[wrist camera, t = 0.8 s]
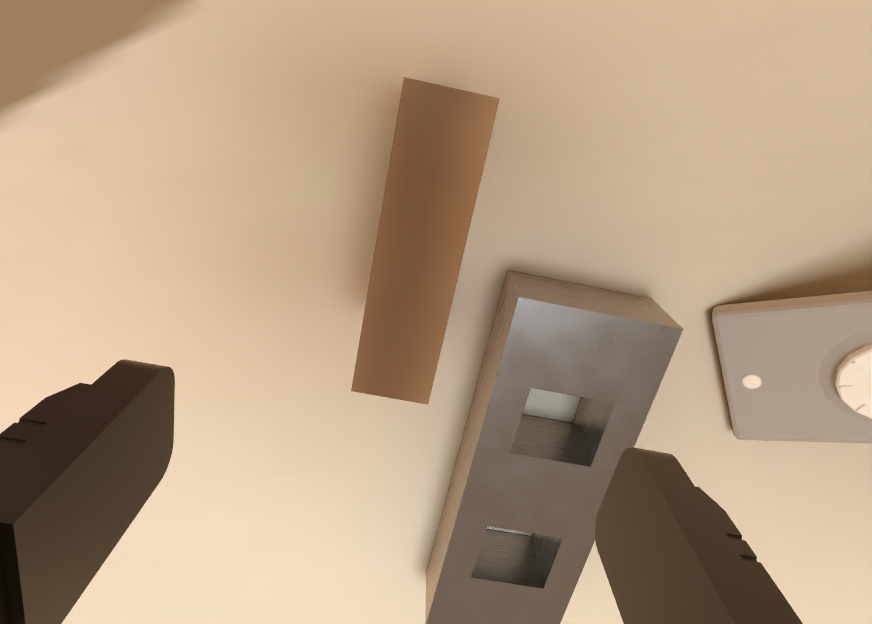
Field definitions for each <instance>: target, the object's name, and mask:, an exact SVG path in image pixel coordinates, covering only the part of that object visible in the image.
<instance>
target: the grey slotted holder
mask: <svg viewBox="0 0 872 624" xmlns="http://www.w3.org/2000/svg"><path fill="white" fill-rule="evenodd" d="M682 331H683V328H682V327H680V326H679V325H678V324H677V323H676V322H675V321H674V320H673V319H672V318H671V317H670V316H669V315H668V314H667V313H666V312H665V311H664V310H663V309H662V308H661V307H660V306H659V305H658V304H657V303H656V302H655V301H653V300H652V299H651V298H646V297H641V296H636V295H631V294H626V293H621V292H616V291H611V290H606V289H601V288H595V287H590V286H585V285H580V284H575V283H570V282H565V281H560V280H555V279H550V278H545V277H540V276H535V275H530V274H525V273H520V272H515V271H510V270H508V272H507V275H506V279H505V283H504V287H503V290H502V294H501V298H500V301H499V305H498V309H497V312H496V316H495V320H494V324H493V327H492V331H491V335H490V338H489V342H488V346H487V350H486V353H485V357H484V361H483V364H482V368H481V372H480V375H479V379H478V383H477V387H476V390H475V394H474V398H473V401H472V405H471V409H470V413H469V416H468V420H467V424H466V427H465V431H464V435H463V438H462V442H461V446H460V450H459V453H458V457H457V461H456V464H455V468H454V472H453V476H452V479H451V483H450V487H449V490H448V494H447V498H446V501H445V505H444V509H443V513H442V516H441V520H440V524H439V527H438V531H437V535H436V539H435V542H434V546H433V550H432V553H431V557H430V561H429V564H428V568H427V572H426V623H425V624H560V622H561V620H562V618H563V615H564V613H565V610H566V608H567V606H568V603H569V601H570V598H571V596H572V594H573V591H574V589H575V587H576V584H577V582H578V579H579V577H580V575H581V572H582V570H583V567H584V565H585V563H586V560H587V558H588V555H589V553H590V551H591V548H592V546H593V543H594V541H595V523H596V517H597V513H598V511H599V508H600V506H601V503H602V501H603V498H604V496H605V493H606V491H607V488H608V486H609V483H610V481H611V479H612V476H613V474H614V471H615V469H616V466H617V464H618V461H619V459H620V457H621V455H622V453H623V452H624V451H625V450H626V449H627V448H630V447H632V448H634V445H635V443H636V441H637V438H638V436H639V433H640V431H641V429H642V426H643V424H644V422H645V419H646V417H647V414H648V412H649V410H650V407H651V405H652V402H653V400H654V398H655V395H656V393H657V390H658V388H659V386H660V383H661V381H662V378H663V376H664V374H665V371H666V369H667V367H668V364H669V362H670V359H671V357H672V355H673V352H674V350H675V347H676V345H677V343H678V340H679V338H680V335H681V333H682ZM530 388H536V389H541V390H547V391H552V392H558V393H563V394H569V395H574V396H580V397H582V399H581V402H580V405H579V407H578V410H577V413H576V416H575V419H574V421H573V423H568V422H562V421H556V420H551V419H545V418H539V417H534V416H528V415H522V413H523V410H524V406H525V403H526V400H527V397H528V394H529V391H530ZM487 526H492V527H498V528H504V529H511V530H517V531H523V532H529V533H533V536H532V537H531V536H525V535H519V534H512V533H506V532H500V531H494V530H487V529H486V528H487Z"/></svg>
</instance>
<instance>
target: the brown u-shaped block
mask: <svg viewBox="0 0 872 624" xmlns="http://www.w3.org/2000/svg"><path fill="white" fill-rule="evenodd" d="M498 103H499V99H498V98H494V97H489V96H485V95H481V94H476V93H472V92H467V91H463V90H458V89H454V88H449V87H445V86H440V85H436V84H431V83H427V82H423V81H418V80H414V79H409V78H405V77H404V81H403V87H402V93H401V99H400V105H399V111H398V117H397V123H396V129H395V134H394V140H393V146H392V152H391V158H390V164H389V170H388V176H387V182H386V188H385V194H384V200H383V206H382V212H381V217H380V223H379V229H378V235H377V241H376V247H375V253H374V259H373V265H372V271H371V277H370V283H369V289H368V295H367V301H366V306H365V312H364V318H363V324H362V330H361V336H360V342H359V348H358V354H357V360H356V366H355V372H354V378H353V384H352V389H351V391H354V392H360V393H366V394H371V395H377V396H383V397H388V398H394V399H400V400H405V401H411V402H417V403H422V404H428V402H429V398H430V394H431V390H432V385H433V381H434V377H435V372H436V368H437V364H438V360H439V355H440V351H441V347H442V342H443V338H444V334H445V330H446V325H447V321H448V317H449V313H450V308H451V304H452V300H453V295H454V291H455V287H456V283H457V278H458V274H459V270H460V265H461V261H462V257H463V253H464V248H465V244H466V240H467V236H468V231H469V227H470V223H471V218H472V214H473V210H474V206H475V201H476V197H477V193H478V189H479V184H480V180H481V176H482V171H483V167H484V163H485V159H486V154H487V150H488V146H489V141H490V137H491V133H492V129H493V124H494V120H495V116H496V112H497V107H498Z"/></svg>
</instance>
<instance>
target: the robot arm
mask: <svg viewBox="0 0 872 624" xmlns="http://www.w3.org/2000/svg"><path fill="white" fill-rule="evenodd" d="M174 388H175V378H174V373H173V370H172V369H171V368H170V367H166V366H160V365H154V364H148V363H142V362H137V361H131V360H120V361H119V362H117V363H116V364H115V365H114V366H112V367H111V368H110V369H109V370H108V371H107V372H105V373H104V374H103V375H102V376H101V377H100V378H99V379H97V380H96V381H95V382H94V383H93V384H92V385H89V384H83V383H79V384H77V385H74V386H72V387H70V388H67V389H65V390H63V391H60V392H58V393H56V394H53V395H51V396H49V397H46V398H45V399H43V400H42V401H41V402H40V403H38V404H37V405H36V406H35V407H33V408H32V409H31V410H30V411H28V412H27V413H26V414H25V415H23V416H22V417H21V418H20V420H19V422H18V423H13V424H12V425H11V426H10V427H8V428H7V429H6V430H5V431H3V432H2V433H1V434H0V624H61V623H62V622H63V620H64V619H65V618H66V616H67V615H68V613H69V612H70V610H71V609H72V607H73V606H74V605H75V603H76V602H77V600H78V599H79V597H80V596H81V594H82V593H83V592H84V590H85V589H86V587H87V586H88V584H89V583H90V582H91V580H92V579H93V577H94V576H95V574H96V573H97V571H98V570H99V569H100V567H101V566H102V564H103V563H104V561H105V560H106V559H107V557H108V556H109V554H110V553H111V551H112V550H113V548H114V547H115V546H116V544H117V543H118V541H119V540H120V538H121V537H122V536H123V534H124V533H125V531H126V530H127V528H128V527H129V525H130V524H131V523H132V521H133V520H134V518H135V517H136V515H137V514H138V513H139V511H140V510H141V508H142V507H143V505H144V504H145V502H146V501H147V500H148V498H149V497H150V495H151V494H152V492H153V491H154V490H155V488H156V487H157V485H158V484H159V482H160V481H161V479H162V478H163V476H164V474H165V472H166V469H167V467H168V464H169V461H170V458H171V454H172V449H173V437H174ZM595 540H596V546H597V549H598V552H599V555H600V558H601V561H602V564H603V566H604V569H605V572H606V575H607V578H608V580H609V583H610V586H611V589H612V592H613V594H614V597H615V600H616V603H617V606H618V609H619V611H620V614H621V617H622V620H623V623H624V624H803V623H802V622H801V620H800V619H799V617H798V616H797V615H796V613H795V612H794V610H793V609H792V607H791V606H790V604H789V603H788V602H787V600H786V599H785V597H784V596H783V594H782V593H781V591H780V590H779V588H778V587H777V586H776V584H775V583H774V581H773V580H772V578H771V577H770V575H769V574H768V573H767V571H766V570H765V568H764V567H763V565H762V564H761V563H760V562H757V561H756V558H757V557H756V555H755V554H754V552H753V551H752V549H751V548H750V546H749V545H748V544H747V542H746V541H744V540H742V535H741V533H740V532H739V531H738V529H737V528H736V526H735V525H734V523H733V522H732V520H731V519H730V518H729V516H728V515H727V513H726V512H725V510H724V509H722V508H721V507H720V506H719V505H718V504H717V503H716V502H715V501H714V500H712V499H711V498H710V497H709V496H708V495H707V494H706V493H705V492H704V491H702V490H701V489H700V488H699V487H695V486H694V485H693V483H692V482H691V480H690V478H689V477H688V475H687V474H686V472H685V471H684V469H683V468H682V466H681V465H680V463H679V462H678V460H677V459H676V458H675V457H674V456H673V455H671V454H667V453H661V452H656V451H650V450H644V449H638V448H632V447H630V448H627V449H626V450H625V451H624V452H623V453H622V455H621V457H620V459H619V461H618V464H617V466H616V469H615V471H614V474H613V476H612V479H611V481H610V483H609V486H608V488H607V491H606V493H605V496H604V498H603V501H602V503H601V506H600V508H599V511H598V513H597V517H596V523H595Z"/></svg>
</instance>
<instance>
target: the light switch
mask: <svg viewBox="0 0 872 624" xmlns="http://www.w3.org/2000/svg"><path fill="white" fill-rule="evenodd" d="M712 323H713V328H714V333H715V339H716V344H717V349H718V354H719V359H720V365H721V370H722V375H723V380H724V385H725V391H726V396H727V401H728V406H729V412H730V417H731V422H732V427H733V432H734V435H735V437H736V438H737V439H740V440H772V441H808V442H844V443H872V291H862V292H852V293H842V294H831V295H821V296H810V297H800V298H790V299H779V300H769V301H759V302H748V303H738V304H727V305H718V306H715V307H714V308H713V311H712ZM835 383H836V384H835Z"/></svg>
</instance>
